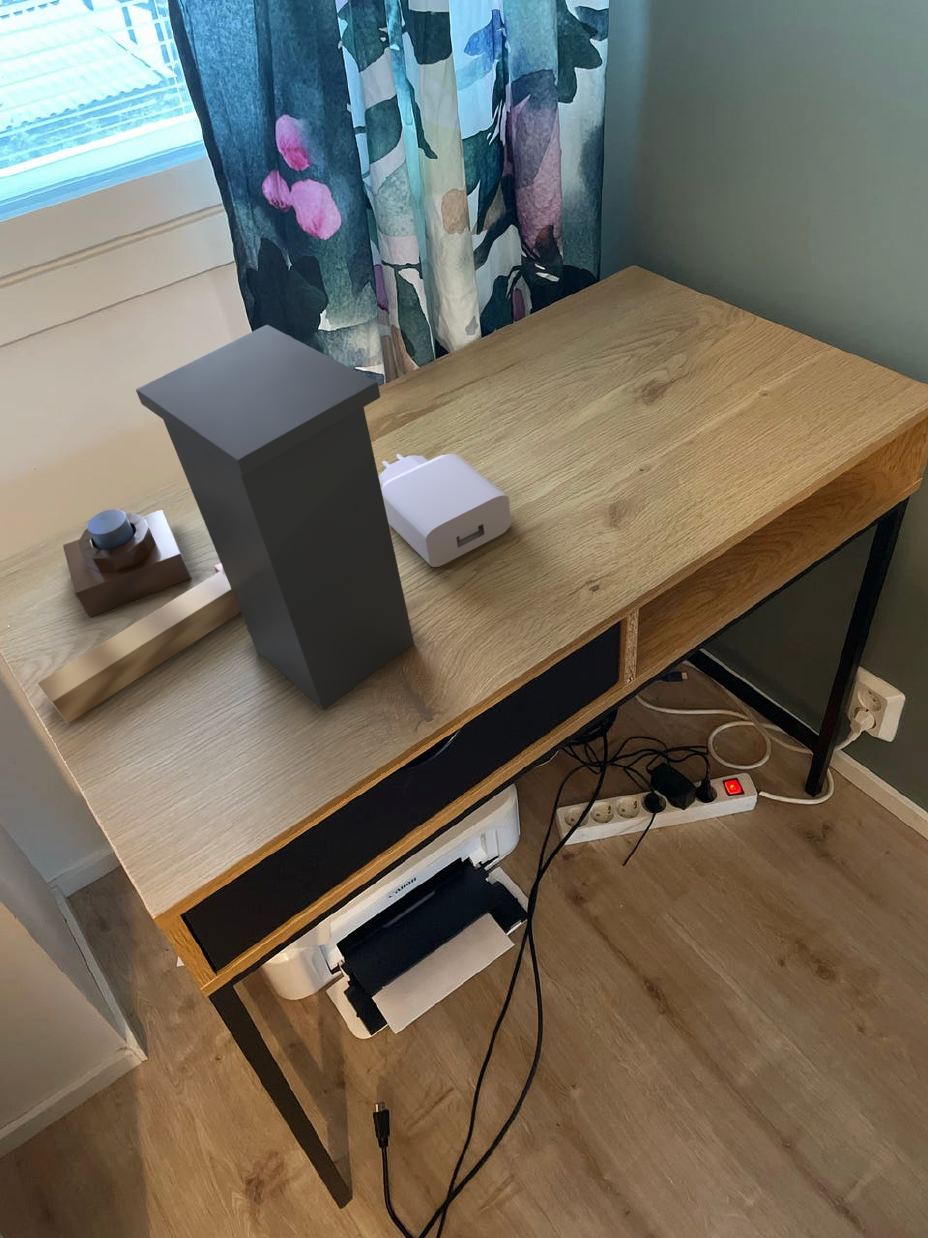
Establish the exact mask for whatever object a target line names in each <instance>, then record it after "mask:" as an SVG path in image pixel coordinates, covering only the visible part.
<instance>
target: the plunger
mask: <svg viewBox="0 0 928 1238" xmlns="http://www.w3.org/2000/svg"><path fill="white" fill-rule="evenodd" d="M125 513H126V512H124V511H122V510H121V509H114V508H113V509H107V510H103V511H101V512H98V513H97V514H95V515H94V516H93V517H91V518H90V520H89V521H88V523H87V528H88V531H89V533H90V535H91V536H92V538H93V540H94V542H95V544H96V546H97V547H98V548H99V549H101V550H112V549H115V548H117V547H120V546H123V545H124V544H126V543H127V542H128V541H129V540H131V539H132V538H133V535H134V531H133V529H132V527H131V525H130V523H129V521H128V519H127V517H126V514H125ZM87 528H86V529H87Z"/></svg>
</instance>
